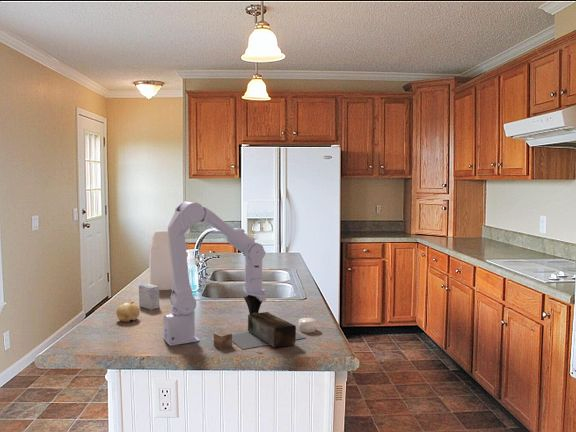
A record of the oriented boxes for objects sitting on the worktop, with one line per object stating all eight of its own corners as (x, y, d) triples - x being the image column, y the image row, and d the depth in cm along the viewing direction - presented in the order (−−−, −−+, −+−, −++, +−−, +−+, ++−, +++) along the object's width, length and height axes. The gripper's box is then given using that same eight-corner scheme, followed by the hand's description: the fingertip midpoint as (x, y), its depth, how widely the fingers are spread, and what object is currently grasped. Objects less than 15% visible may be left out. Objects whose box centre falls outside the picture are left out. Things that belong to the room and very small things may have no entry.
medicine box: (159, 308, 199) (159, 286, 198) (149, 310, 196) (149, 288, 195) (148, 304, 204) (148, 283, 204) (139, 306, 201) (138, 284, 200)
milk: (174, 283, 242) (173, 229, 240) (177, 288, 231) (176, 232, 229) (148, 285, 238) (147, 230, 236) (150, 290, 227) (148, 233, 225)
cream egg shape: (304, 334, 168) (304, 323, 168) (295, 329, 174) (295, 319, 173) (319, 331, 171) (319, 321, 171) (310, 326, 176) (310, 316, 176)
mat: (242, 349, 153) (242, 349, 153) (225, 336, 165) (225, 335, 165) (305, 338, 164) (305, 337, 164) (284, 326, 176) (284, 325, 176)
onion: (138, 323, 179) (137, 303, 179) (114, 324, 178) (114, 304, 177) (140, 316, 187) (140, 298, 187) (118, 317, 186) (117, 298, 185)
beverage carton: (268, 328, 174) (268, 309, 173) (297, 345, 157) (297, 324, 156) (247, 331, 170) (247, 312, 169) (274, 349, 153) (274, 328, 152)
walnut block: (221, 349, 154) (221, 336, 153) (213, 346, 157) (213, 333, 156) (232, 346, 157) (231, 333, 156) (224, 343, 159) (224, 330, 159)
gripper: (274, 280, 166) (274, 321, 167) (255, 272, 179) (255, 310, 180) (254, 282, 163) (254, 324, 164) (236, 274, 175) (236, 313, 177)
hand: (253, 317), depth 172 cm, fingers closed
